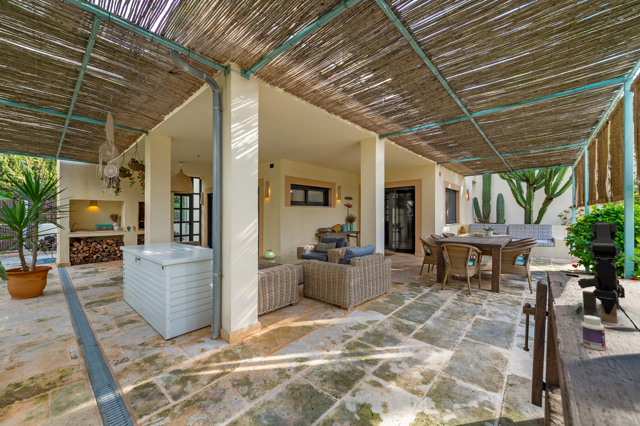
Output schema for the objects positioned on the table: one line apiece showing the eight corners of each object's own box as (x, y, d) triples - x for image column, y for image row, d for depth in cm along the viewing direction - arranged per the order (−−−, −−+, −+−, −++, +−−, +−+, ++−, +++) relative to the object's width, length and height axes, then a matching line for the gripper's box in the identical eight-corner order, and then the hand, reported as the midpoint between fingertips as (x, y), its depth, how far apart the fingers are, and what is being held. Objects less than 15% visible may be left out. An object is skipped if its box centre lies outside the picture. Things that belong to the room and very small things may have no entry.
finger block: (603, 321, 109) (601, 302, 109) (617, 324, 106) (616, 304, 106) (602, 323, 107) (600, 303, 108) (617, 326, 104) (615, 305, 104)
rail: (579, 308, 125) (578, 302, 126) (603, 312, 119) (603, 306, 119) (572, 316, 116) (572, 309, 116) (598, 321, 110) (597, 313, 110)
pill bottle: (609, 352, 84) (606, 321, 85) (585, 348, 87) (583, 318, 87) (602, 345, 89) (600, 316, 89) (580, 342, 91) (578, 313, 92)
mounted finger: (584, 307, 124) (583, 290, 124) (597, 309, 120) (595, 292, 121) (583, 309, 122) (582, 291, 122) (596, 311, 119) (594, 293, 119)
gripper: (582, 268, 120) (585, 302, 119) (574, 273, 108) (577, 312, 107) (619, 271, 111) (622, 308, 110) (614, 277, 99) (618, 319, 99)
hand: (609, 311), depth 107 cm, fingers open, 9 cm apart
